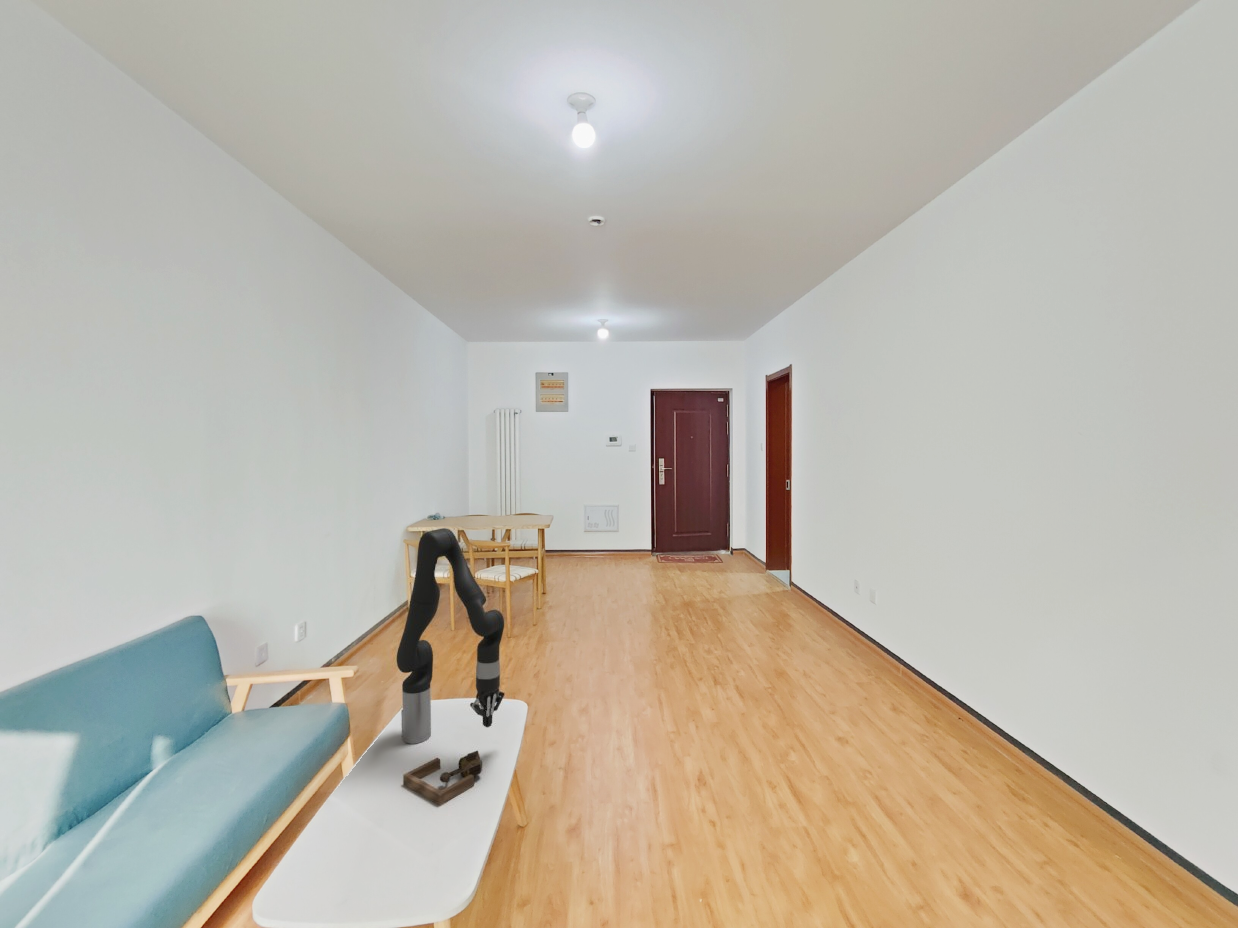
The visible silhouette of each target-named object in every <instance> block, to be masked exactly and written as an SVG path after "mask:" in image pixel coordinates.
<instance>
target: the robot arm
mask: <svg viewBox="0 0 1238 928" xmlns="http://www.w3.org/2000/svg"><path fill="white" fill-rule="evenodd" d="M416 557H417V559H416V570H415V575H414V581H413V585H412V586H413V587H412V591H411V596H410V598H409V599H410V600H409V606H408V612H407V616H406V620H405V625H404V630H403V632H402V635H401V639H400V642H399V646H398V648H397V652H396V666H397V669H398V670H399V671H400V672H401V673H403V674H408V673H410V674H409V675H408V676H407V677H406V678H405V679H404V680H403V681H402V685H401V686H402V691H401V692H402V693H401V694H402V709H401V713H400V714H401V738H402V740H403V742H404V743H407V744H412V745H413V744H420V743H424V742H425V741H426V742H427V740H429V739H430V738H431V736H432V709H431V708H432V705H431V703H432V700H431V699H432V698H431V683H432V680H433V668H434V667H433V666H434V651H433V648H432V646H431V643H430V642H429V641H428V640H425V639H421V638H422V635H423V633H424V632H425V631H426V629H427V628H428V626H429V625H430V623H431V622H432V621H433V619H434V618H435V616H436V614H437V611H438V607H439V603H440V597H441V590H440V587H439V584H438V582H437V580H436V576H435V575H436V574H435V573H436V565H437V562H438V560H439V558H442V557H444V558H446V559H447V561H448V563H449V564H450V566H451V569H452V573H453V584H454V589H455V591H456V594H457V596H458V598H459V599H460V600H461V603H462V604H463V605H464V607H465V609H466V613H467V616H468V620H469V623H470V626H471V628H472V630H473V631H474V633H475V634H477V636H479V637H481V638H482V639H481V640H480V641H479V643H478V644H477V646H476V650H477V651H476V666H475V689H476V692H477V693H476V696H475V700H474V701H473V702H470V704H469V707H471V708H472V710H473V711H474V712H475V713H476V714H477V715H478V716H481V717H482V726H483V727H485V728H490V727H491V726H492V724H493V715H494V712H497V711H498V709H499V707H500V704H502V703H501V702H502V701H503V698H504V696H505V692H503V691H501V690H500V686H501V664H500V645H501V642H502V638H503V634H504V633H503V632H504V628H505V618H504V615H503V613H501V611H499V610H498V609H490V610H488V611H485V610H484V605H485V603H486V602H487V597H486V595H485V593H484V592H483V590H482V589H481V586H479V584H478V582H477V581H476V579H475V577H474V576H473V573H472V572H471V570H470V567H469V565H468V562H467V560H466V558H465V556H464V553H463V550H462V548H461V545H460V544H459V541H458V539H457V537H456V535H455V534H454V532H453V531H452V530H451V529H449V528H446V527H444V528H443V527H442V528H437V529H433V530H429V531H426V532H424V533H423V534H422V535H421V537H420V538H419V542H418V547H417V556H416Z"/></svg>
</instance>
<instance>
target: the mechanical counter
mask: <svg viewBox="0 0 1238 928" xmlns="http://www.w3.org/2000/svg"><path fill="white" fill-rule="evenodd" d="M482 771H483V761H482V759H481V757H480V754H479V750H474V751H473V752H469V753H467V754H466V755H465V756H463V757H460V759H458V768H457V769H454V770H452V771H450V772H446V771H445V772H444V771H443V772H442V773H441V775H440V776H439V780H440V783H443V784H445V783H448V782H449V781H450V779H451V777H454V776H456V775H459V774H460V776H461V778H462V779H463V778H465V777H467V776H468V775H470V774H471V775H473V776H474V777H476V776H478V775H480V774H481V773H482Z"/></svg>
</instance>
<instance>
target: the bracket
mask: <svg viewBox="0 0 1238 928" xmlns="http://www.w3.org/2000/svg"><path fill="white" fill-rule="evenodd" d="M438 770H441V759H440V757H436V758H433V759H431V760H429V761H427V762H425V763H424V764H422V765H420V766H418V767H415V768H413V769H412V770H410V771H407V772H406V773H404V774H403V775H402V779H403V780H402V781H403V786H404V787H407V788H408V789H410V790H412V791H414V792H415V793H417V794H419V795H421V796H422V797H424V798H425V799H428V800H429V801H431V802H432V803H434V804H436V805H438V806H442V805H443V804H445V803H448V802H449V801H450V800H452V799H454V798H456V797H458V796H459V795H461V794H462V793H464V792H467V791H468V790H469V789H471V788H472V787H474V786H475V776H473V775H471V774H470V775H468V776H467V777H465V778H463V777H462V779H460V780H458V781H455V782H454V783H452V784H450V785H449V786H447V787H446V788H443V789H442V790H440V789H438V788H437V787H435V786H433V785H431V784H429V783H428V782H425V781H423V780H422V779H423V778H425V777H427V776H429V775H431V774H433V773H435V772H436V771H438Z"/></svg>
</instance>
